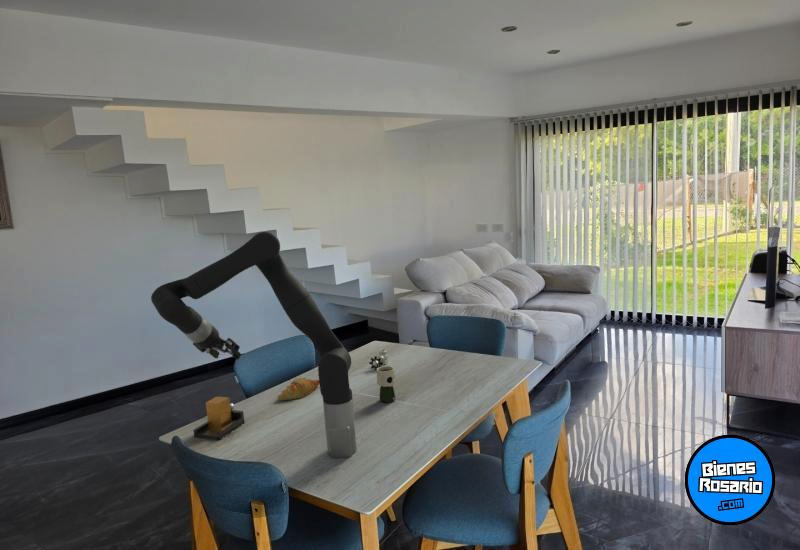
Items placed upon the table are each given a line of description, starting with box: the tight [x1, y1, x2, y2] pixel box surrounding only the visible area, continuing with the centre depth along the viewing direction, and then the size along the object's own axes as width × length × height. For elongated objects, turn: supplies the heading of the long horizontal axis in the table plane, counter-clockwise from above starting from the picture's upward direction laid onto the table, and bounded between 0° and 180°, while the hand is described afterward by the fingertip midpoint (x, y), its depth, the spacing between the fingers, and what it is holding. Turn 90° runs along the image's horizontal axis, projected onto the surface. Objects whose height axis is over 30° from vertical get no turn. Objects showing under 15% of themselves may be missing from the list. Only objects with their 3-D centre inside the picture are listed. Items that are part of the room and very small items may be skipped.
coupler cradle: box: [193, 402, 245, 441], centre depth 197 cm, size 15×11×7 cm
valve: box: [368, 349, 389, 371], centre depth 259 cm, size 7×7×12 cm
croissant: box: [277, 377, 320, 401], centre depth 228 cm, size 21×10×8 cm, turn 139°
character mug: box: [376, 365, 396, 403], centre depth 214 cm, size 11×7×13 cm, turn 147°
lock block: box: [205, 396, 232, 430], centre depth 197 cm, size 6×6×10 cm
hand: (228, 356), depth 181 cm, fingers open, 8 cm apart
